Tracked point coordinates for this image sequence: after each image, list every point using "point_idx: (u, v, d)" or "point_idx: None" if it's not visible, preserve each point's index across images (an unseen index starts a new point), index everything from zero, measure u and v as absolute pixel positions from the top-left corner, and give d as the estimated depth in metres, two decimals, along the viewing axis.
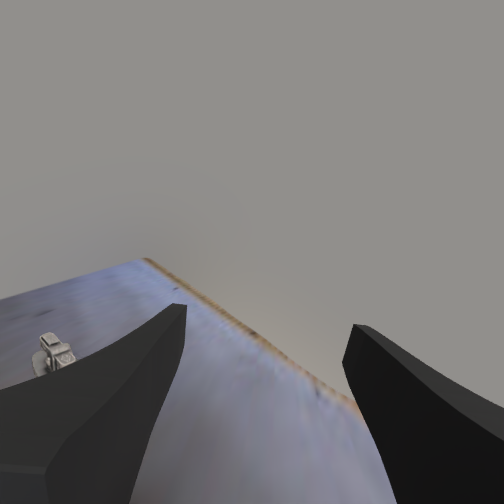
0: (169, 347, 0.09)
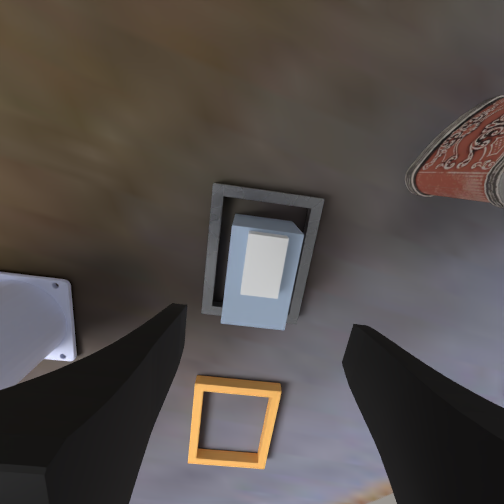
0: (169, 347, 0.09)
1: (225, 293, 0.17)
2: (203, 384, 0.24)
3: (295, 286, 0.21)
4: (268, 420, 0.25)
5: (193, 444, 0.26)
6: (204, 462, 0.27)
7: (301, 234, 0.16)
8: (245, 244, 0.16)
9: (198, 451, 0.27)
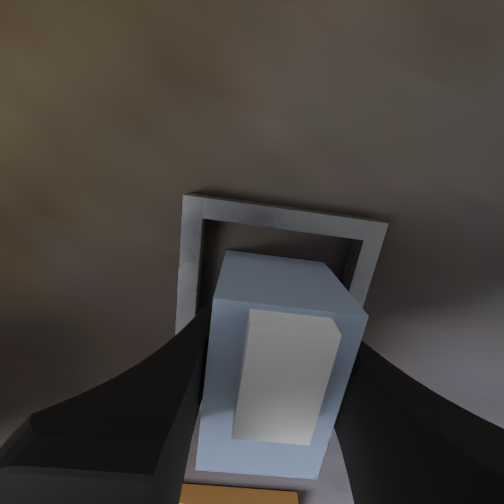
0: (207, 351, 0.09)
1: (202, 422, 0.09)
2: (179, 503, 0.15)
3: None
4: None
5: None
6: None
7: (362, 314, 0.07)
8: (242, 335, 0.07)
9: None
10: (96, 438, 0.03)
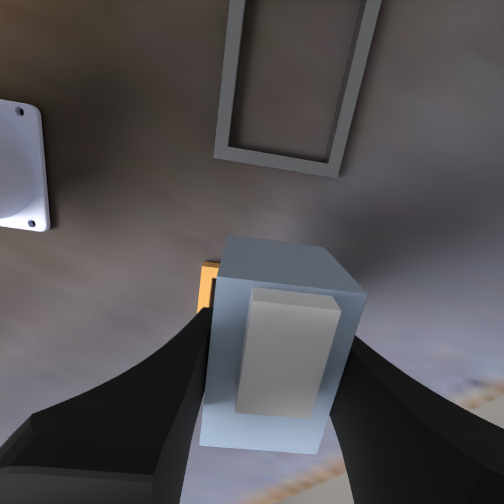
0: (207, 351, 0.09)
1: (206, 398, 0.09)
2: (213, 268, 0.18)
3: (339, 118, 0.16)
4: None
5: None
6: None
7: (361, 293, 0.08)
8: (245, 313, 0.08)
9: None
10: (96, 438, 0.03)
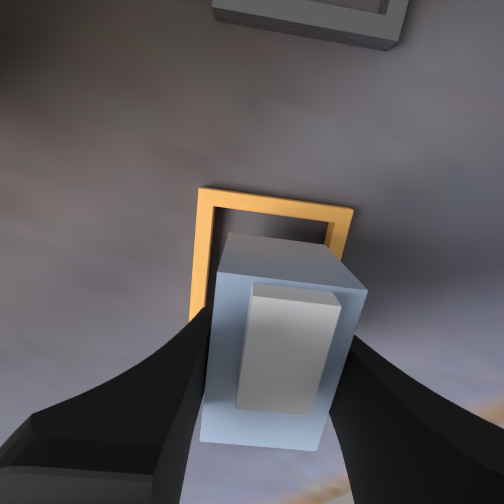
0: (207, 351, 0.09)
1: (206, 394, 0.09)
2: (214, 192, 0.13)
3: None
4: None
5: None
6: None
7: (362, 289, 0.08)
8: (245, 309, 0.08)
9: None
10: (97, 438, 0.03)
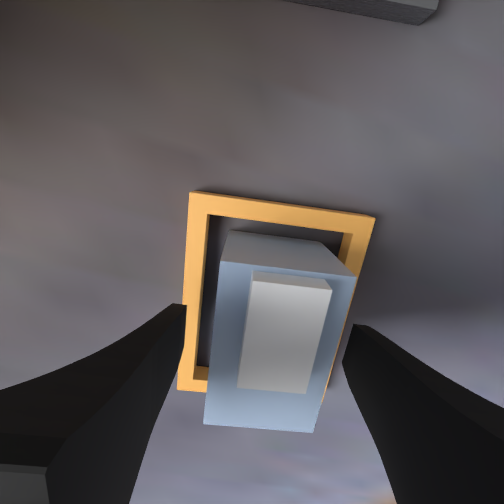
0: (169, 347, 0.08)
1: (210, 377, 0.09)
2: (208, 198, 0.11)
3: None
4: None
5: (187, 348, 0.13)
6: None
7: (351, 276, 0.08)
8: (246, 295, 0.08)
9: (197, 370, 0.14)
10: (0, 430, 0.03)
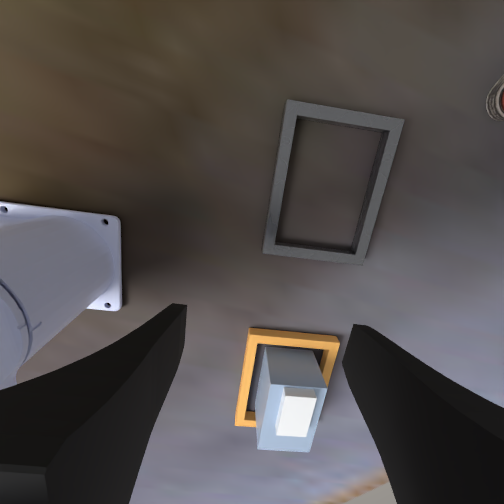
0: (169, 347, 0.08)
1: (262, 429, 0.21)
2: (258, 336, 0.22)
3: (364, 222, 0.19)
4: (323, 376, 0.24)
5: (242, 404, 0.24)
6: (252, 424, 0.25)
7: (325, 387, 0.20)
8: (280, 396, 0.20)
9: (245, 413, 0.26)
10: None
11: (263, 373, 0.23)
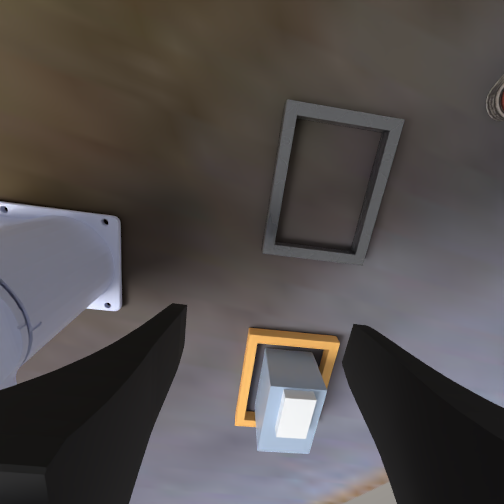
0: (169, 347, 0.08)
1: (262, 430, 0.21)
2: (258, 336, 0.22)
3: (364, 222, 0.19)
4: (323, 376, 0.24)
5: (242, 404, 0.24)
6: (252, 424, 0.25)
7: (325, 389, 0.20)
8: (280, 398, 0.20)
9: (245, 413, 0.26)
10: None
11: (263, 375, 0.23)
